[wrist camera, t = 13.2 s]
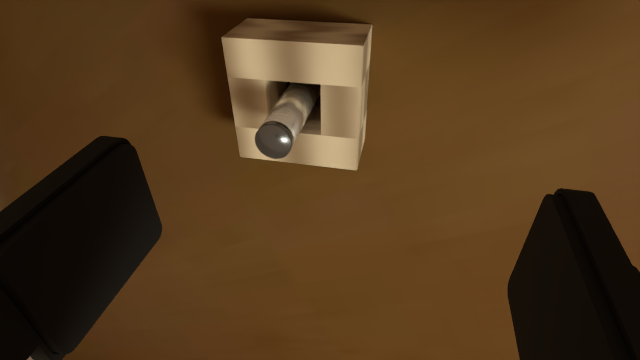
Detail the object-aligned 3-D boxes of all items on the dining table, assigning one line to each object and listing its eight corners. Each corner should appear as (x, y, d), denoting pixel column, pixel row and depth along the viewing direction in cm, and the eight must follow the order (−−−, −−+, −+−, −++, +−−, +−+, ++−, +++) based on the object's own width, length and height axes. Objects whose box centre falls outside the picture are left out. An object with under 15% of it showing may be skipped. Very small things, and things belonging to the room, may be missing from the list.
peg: (323, 69, 39) (289, 127, 30) (323, 97, 41) (292, 160, 32) (294, 67, 40) (252, 124, 30) (295, 94, 42) (256, 156, 32)
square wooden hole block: (372, 24, 36) (363, 45, 31) (364, 139, 43) (356, 170, 38) (247, 18, 38) (221, 37, 33) (259, 128, 45) (240, 156, 40)
